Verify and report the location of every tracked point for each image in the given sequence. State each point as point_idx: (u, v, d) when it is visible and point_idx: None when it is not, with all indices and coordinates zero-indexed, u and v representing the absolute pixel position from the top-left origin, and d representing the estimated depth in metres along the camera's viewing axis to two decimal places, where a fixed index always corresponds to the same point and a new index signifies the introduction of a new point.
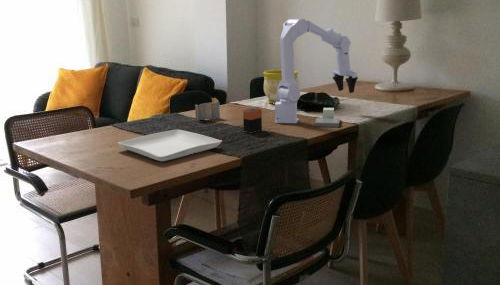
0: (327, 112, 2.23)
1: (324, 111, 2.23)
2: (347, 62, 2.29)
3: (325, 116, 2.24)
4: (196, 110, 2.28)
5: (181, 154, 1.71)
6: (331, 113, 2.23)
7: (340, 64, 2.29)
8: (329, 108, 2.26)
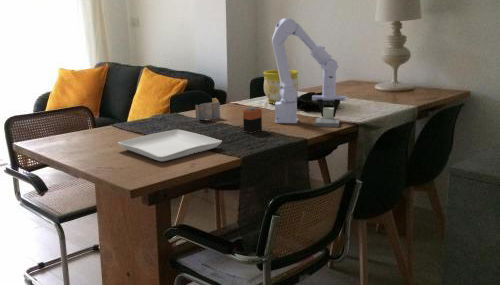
0: (327, 112, 2.23)
1: (324, 111, 2.23)
2: (335, 85, 2.22)
3: (325, 116, 2.24)
4: (196, 110, 2.28)
5: (181, 154, 1.71)
6: (331, 113, 2.23)
7: (331, 87, 2.20)
8: (329, 108, 2.26)
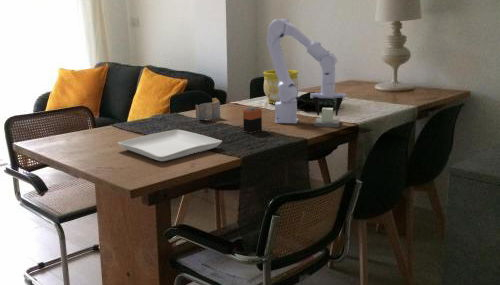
0: (326, 112, 2.15)
1: (323, 111, 2.15)
2: (334, 82, 2.13)
3: (324, 116, 2.15)
4: (196, 110, 2.28)
5: (181, 154, 1.71)
6: (330, 113, 2.14)
7: (330, 84, 2.11)
8: (328, 108, 2.17)
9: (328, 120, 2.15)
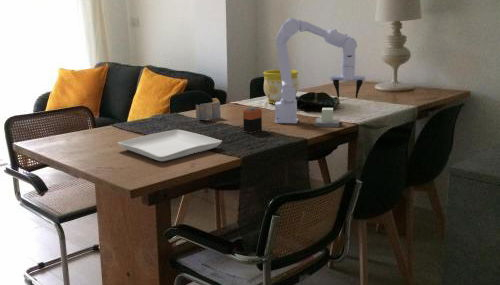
0: (326, 112, 2.15)
1: (323, 111, 2.15)
2: (354, 65, 2.16)
3: (324, 116, 2.15)
4: (197, 110, 2.28)
5: (181, 154, 1.71)
6: (330, 113, 2.14)
7: (351, 67, 2.14)
8: (328, 108, 2.17)
9: (328, 120, 2.15)
